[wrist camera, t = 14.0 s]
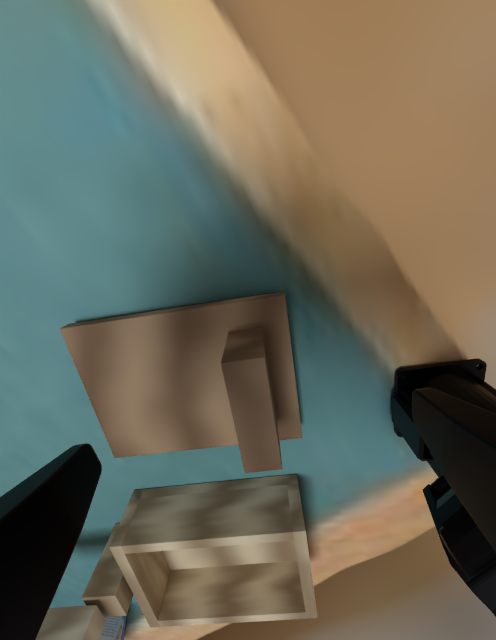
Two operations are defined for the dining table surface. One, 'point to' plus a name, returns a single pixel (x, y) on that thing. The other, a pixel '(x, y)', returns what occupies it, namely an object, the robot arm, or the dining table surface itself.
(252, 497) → the toolbox
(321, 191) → the dining table surface
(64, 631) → the beige wooden plank
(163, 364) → the lid
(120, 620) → the medicine box
